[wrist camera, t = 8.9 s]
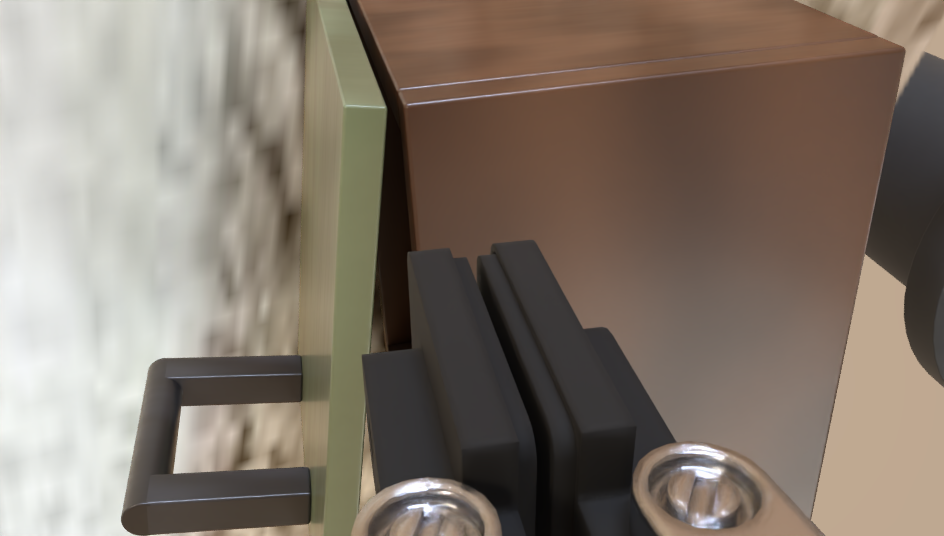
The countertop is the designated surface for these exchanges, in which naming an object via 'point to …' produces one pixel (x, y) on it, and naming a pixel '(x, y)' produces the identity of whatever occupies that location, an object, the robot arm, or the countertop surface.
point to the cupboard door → (319, 330)
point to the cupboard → (651, 187)
